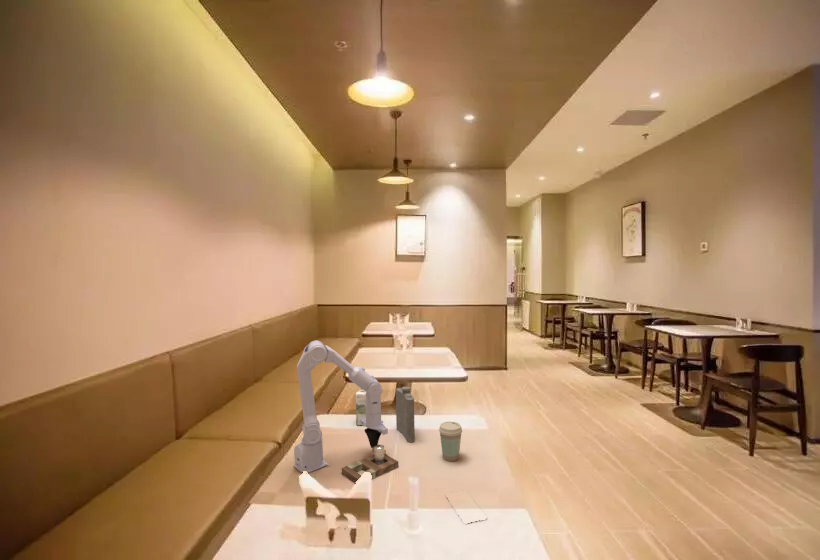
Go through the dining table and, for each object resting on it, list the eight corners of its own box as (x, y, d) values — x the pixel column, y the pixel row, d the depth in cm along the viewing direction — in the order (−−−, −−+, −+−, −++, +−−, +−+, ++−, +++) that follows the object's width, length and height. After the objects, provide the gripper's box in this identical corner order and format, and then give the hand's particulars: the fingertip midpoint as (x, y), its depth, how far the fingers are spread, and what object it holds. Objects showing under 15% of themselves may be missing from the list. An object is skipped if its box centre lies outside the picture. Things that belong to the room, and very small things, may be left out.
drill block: (358, 485, 132) (358, 479, 132) (341, 473, 139) (341, 467, 139) (398, 466, 143) (398, 461, 143) (381, 456, 150) (380, 451, 150)
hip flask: (395, 428, 176) (394, 382, 175) (404, 426, 178) (403, 381, 177) (408, 443, 161) (407, 394, 160) (417, 441, 163) (417, 392, 162)
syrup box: (371, 421, 184) (370, 389, 184) (368, 426, 179) (368, 393, 178) (358, 420, 185) (358, 389, 184) (356, 425, 179) (355, 393, 178)
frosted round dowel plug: (378, 469, 141) (378, 450, 141) (372, 466, 144) (372, 446, 144) (386, 466, 144) (386, 446, 143) (380, 462, 146) (380, 443, 146)
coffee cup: (461, 464, 144) (461, 431, 144) (437, 462, 146) (437, 429, 146) (463, 452, 153) (463, 421, 152) (440, 451, 154) (440, 420, 154)
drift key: (380, 456, 146) (380, 451, 146) (372, 451, 150) (372, 447, 150) (387, 453, 148) (387, 449, 148) (378, 449, 152) (378, 444, 152)
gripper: (394, 414, 149) (394, 450, 149) (370, 404, 159) (371, 438, 160) (378, 419, 144) (379, 456, 144) (355, 408, 155) (356, 443, 155)
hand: (374, 447), depth 152 cm, fingers closed
